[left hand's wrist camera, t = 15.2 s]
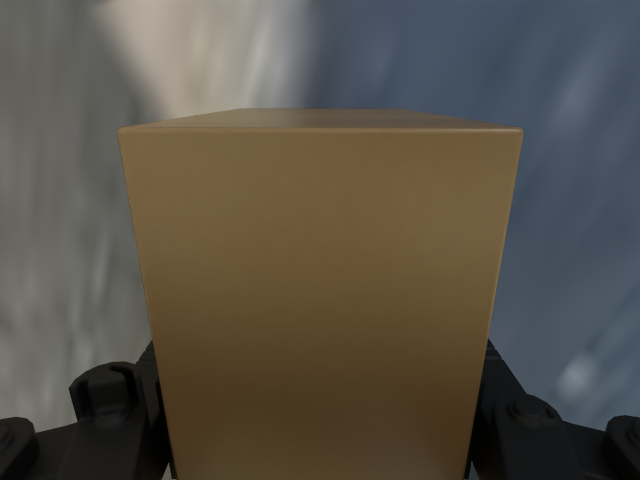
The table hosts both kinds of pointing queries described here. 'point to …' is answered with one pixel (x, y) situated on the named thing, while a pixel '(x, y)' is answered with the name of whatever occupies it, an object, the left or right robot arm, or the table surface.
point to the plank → (320, 286)
